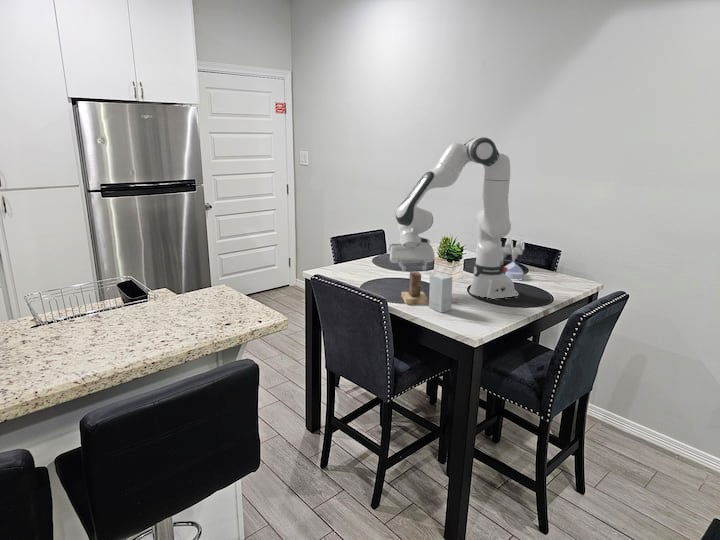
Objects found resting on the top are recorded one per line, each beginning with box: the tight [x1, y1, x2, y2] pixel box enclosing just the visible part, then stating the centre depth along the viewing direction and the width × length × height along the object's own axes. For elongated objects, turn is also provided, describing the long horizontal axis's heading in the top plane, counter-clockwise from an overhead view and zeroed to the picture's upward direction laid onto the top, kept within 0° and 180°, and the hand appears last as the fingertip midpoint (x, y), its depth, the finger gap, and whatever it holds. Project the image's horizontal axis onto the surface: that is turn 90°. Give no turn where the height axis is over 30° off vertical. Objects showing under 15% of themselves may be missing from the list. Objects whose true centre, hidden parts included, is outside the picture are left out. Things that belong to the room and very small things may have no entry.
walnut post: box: [408, 271, 422, 297], centre depth 212 cm, size 4×4×10 cm
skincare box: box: [428, 272, 453, 314], centre depth 203 cm, size 8×6×15 cm
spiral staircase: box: [475, 235, 525, 266], centre depth 274 cm, size 18×18×25 cm
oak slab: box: [400, 291, 429, 305], centre depth 214 cm, size 10×10×3 cm
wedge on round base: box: [504, 261, 524, 280], centre depth 253 cm, size 9×7×13 cm
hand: (414, 270), depth 215 cm, fingers open, 8 cm apart
